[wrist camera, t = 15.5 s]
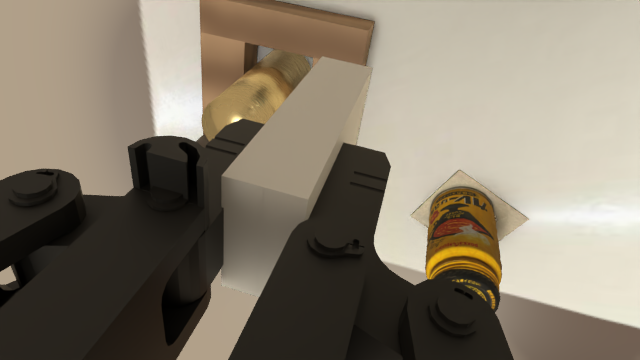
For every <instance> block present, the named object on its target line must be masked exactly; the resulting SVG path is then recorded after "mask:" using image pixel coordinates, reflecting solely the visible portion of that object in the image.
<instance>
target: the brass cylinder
mask: <svg viewBox="0 0 640 360" xmlns="http://www.w3.org/2000/svg"><path fill="white" fill-rule="evenodd" d="M310 70H311V69H310V66H309V63H308V61H307V60H306V58H305V57H304V56H303V55H299V54H295V53H291V52H286V51H282V50H277V49H275V50H273V51H272V52H270V53H269V54H268V55H267V56H266V57H264V58H263V59H262V60H261V61H260V62H258V63H257V64H256V65H255V66H254V67H252V68H251V69H250V70H249V71H248V72H246V73H245V74H244V75H243V76H242V77H240V78H239V79H238V80H237V81H236V82H234V83H233V84H232V85H231V86H230V87H228V88H227V89H226V90H225V91H224V92H222V93H221V94H220V95H219V96H218V97H216V98H215V99H214V100H213V101H212V102H210V103H209V104H208V105H207V106H206V108H205V109H204V111H203V114H202V127H203V131H204V134H205V136H206V137H207V139H208V141H209V142H210V141H211V140H212V139H214V138H215V136H216V135H217V134H218V133H219V132H220V131H221V130H222V129H223V128H224V127H225V126H226V125H228V124H231V123H233V122H236V121H238V120H240V119H247V120H251V121H255V122H259V123H263V124H266V122H267V121H268V120H269V119H270V118H271V116H272V115H273V114H274V113H275V112H276V110H277V109H278V108H279V107H280V106H281V105H282V103H283V102H284V101H285V100H286V99H287V97H288V96H289V95H290V94H291V93H292V92H293V90H294V89H295V88H296V87H297V86H298V84H299V83H300V82H301V81H302V80H303V78H304V77H305V76H306V75H307V74H308V73H309V71H310Z"/></svg>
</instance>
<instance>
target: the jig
mask: <svg viewBox="0 0 640 360" xmlns="http://www.w3.org/2000/svg"><path fill="white" fill-rule="evenodd" d="M374 23H375V21H370V20H365V19H360V18H355V17H351V16H346V15H341V14H336V13H332V12H327V11H322V10H317V9H313V8H308V7H303V6H298V5H294V4H289V3H284V2H279V1H275V0H200V29H201V65H202V101H203V111H204V109H205V108H206V106H207V105H208V104H209V103H210V102H212V101H213V100H214V99H215V98H216V97H218V96H219V95H220V94H221V93H222V92H224V91H225V90H226V89H227V88H228V87H230V86H231V85H232V84H233V83H234V82H236V81H237V80H238V79H239V78H240V77H242V76H243V75H244V74H245V73H246V72H248V71H249V70H250V69H251V68H252V67H254V66H255V65H256V64H257V47H258V45H260V46H264V47H269V48H273V49H277V50H282V51H286V52H291V53H295V54H299V55H304V56H308V57H313V66H312V68H313V67H314V65H315V64H316V63H317V62H318V61H319V60H320V58H321V57H322V56H323V57H327V58H331V59H336V60H340V61H345V62H349V63H354V64H358V65H362V66H366V62H367V57H368V52H369V47H370V42H371V37H372V32H373V28H374ZM196 142H197V143H199V144H200V145H201V146H202V147H204V148H205V147H206V144H208V143H209V141H208V139H207V137H206V136H205V134H204V131H203V136H202V137H200V138H199V139H198V140H197V141H196Z"/></svg>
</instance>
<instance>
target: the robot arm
mask: <svg viewBox="0 0 640 360" xmlns="http://www.w3.org/2000/svg"><path fill="white" fill-rule="evenodd" d="M371 73H372V68H371V67H367V66H362V65H358V64H354V63H349V62H345V61H340V60H336V59H331V58H327V57H323V56H322V57H321V58H320V60H319V61H318V62H317V63H316V64H315V65H314V67H313V68H312V69H311V70H310V71H309V73H308V74H307V75H306V76H305V77H304V78H303V80H302V81H301V82H300V83H299V84H298V86H297V87H296V88H295V89H294V90H293V92H292V93H291V94H290V95H289V96H288V97H287V99H286V100H285V101H284V102H283V103H282V105H281V106H280V107H279V108H278V109H277V110H276V112H275V113H274V114H273V115H272V116H271V118H270V119H269V120H268V121H267V122H266V124H263V123H259V122H255V121H251V120H247V119H240V120H238V121H236V122H233V123H231V124H228V125H226V126H225V127H224V128H223V129H222V130H221V131H220V132H219V133H218V134H217V135H216V136H215V138H214V139H212V140H211V141H210V142H209V143H208V144H206V147H205V148H204V147H202V146H201V145H200V144H199V143H197V142H195V141H192V140H190V139H188V138H183V137H176V136H155V137H151V138H147V139H143V140H140V141H137V142H136V143H134V144H132V145H130V146H128V152H129V159H130V166H131V172H132V179H133V186H134V188H133V189H132V190H131V191H129V192H128V193H127V194H126V195H125V196H99V195H83V194H82V190H81V186H80V182H79V180H78V179H77V178H76V177H75V176H74V175H73V174H71V173H68V172H65V171H62V170H59V169H37V170H31V171H25V172H22V173H19V174H16V175H13V176H9V177H7V178H5V179H3V180H0V272H1V271H2V270H4V269H6V268H7V267H9V266H11V268H12V270H13V273H14V275H15V277H16V281H13V282H11V283H9V284H6V285H0V360H176V359H177V357H178V356H179V354H180V352H181V351H182V349H183V347H184V346H185V344H186V342H187V341H188V339H189V337H190V336H191V334H192V332H193V331H194V329H195V327H196V326H197V324H198V323H199V321H200V319H201V317H202V316H203V314H204V313H205V311H206V309H207V307H208V305H209V302H210V298H211V283H212V282H213V280H214V278H215V277H216V275H217V274H218V272H219V271H220V269H221V270H222V271H221V275H222V276H221V282H222V283H221V285H222V286H225V287H228V288H231V289H234V290H238V291H241V292H244V293H247V294H250V295H253V296H257V297H259V299H258V301H257V303H256V305H255V307H254V309H253V311H252V313H251V315H250V317H249V319H248V321H247V323H246V325H245V327H244V329H243V331H242V333H241V335H240V337H239V339H238V341H237V343H236V345H235V347H234V349H233V351H232V353H231V355H230V357H229V359H228V360H514V359H513V356H512V354H511V351H510V348H509V346H508V343H507V341H506V338H505V335H504V333H503V330H502V327H501V325H500V322H499V319H498V318H497V316H496V314H495V312H494V311H493V309H492V307H491V306H490V304H489V303H488V302H487V301H485V300H484V299H483V298H482V297H481V296H480V295H479V294H478V293H477V292H476V291H474V290H472V289H470V288H468V287H466V286H465V285H463V284H461V283H458V282H454V281H450V280H447V279H427V280H426V281H423V282H421V283H419V284H417V285H413V284H411V283H410V282H408V281H406V280H404V279H403V278H401V277H399V276H398V275H396V274H395V273H394V272H392V271H391V270H389V269H388V267H387V266H386V265H385V264H384V263H383V262H382V261H381V260H380V258H379V256H378V255H377V253H376V250H375V247H374V234H375V230H376V226H377V222H378V218H379V213H380V209H381V205H382V201H383V197H384V193H385V189H386V185H387V180H388V176H389V172H390V168H391V166H390V163H389V161H388V159H387V157H386V154H385V153H384V152H380V151H376V150H372V149H368V148H364V147H360V146H356V143H357V139H358V134H359V129H360V124H361V120H362V115H363V110H364V106H365V101H366V96H367V92H368V87H369V82H370V78H371Z"/></svg>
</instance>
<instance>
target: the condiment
mask: <svg viewBox="0 0 640 360" xmlns="http://www.w3.org/2000/svg"><path fill="white" fill-rule="evenodd" d="M495 216H496V218H495ZM411 217H413V218H414V219H416V220H417V221H419V222H420V223H422V224H423V225H425V226H426V227H427V228H428V239H427V241H428V244H427V251H426V267H425V269H426V275H427V278H428V279H447V280H450V281H454V282H458V283H461V284H463V285H465V286H466V287H468V288H470V289H472V290H474V291H476V292H477V293H478V294H479V295H480V296H481V297H482V298H483V299H484V300H485V301H487V302H488V303H489V304H490V306H491V307H492V309H493V311H494V312H496V310H497V309H498V305H499V302H500V295H499V294H500V293H499V284H500V282H501V278H502V273H501V270H502V265H501V262H500V251H499V243H498V241H500V240H501V239H502V238H504V236H506V235H508V234H509V233H511V232H512V231H514V230H515V229H516V228H517V227H519V226H521V225H522V224H523V223H525V222H526V221H527V220H529V219H528V218H526V217H525V216H523V215H522V214H521V213H519V212H518V211H517V210H515V209H513V208H512V207H511V206H509V205H508V204H507V203H505V202H503V201H502V200H501V199H500V198H498V197H497V196H496V195H494V194H493V193H492V192H490V191H489V190H487V189H486V188H485V187H483V186H482V185H481V184H479V183H478V182H476V181H475V180H474V179H472V178H470V177H469V176H468V175H466V174H465V173H463V172H462V171H460V170H459V171H458V172H457V173H456V174H455V175H454V176H452V177H451V178H450V179H449V180H448V181H447V182H446V183H445V184H443V185H442V186H441V187H440V188H439V189H438V190H437V191H436V192H435V193H434V194H433V195H432V196H431V197H430V198H429V199H427V200H426V201H425V202H424V203H423V204H422V205H421V206H420V208H418V209H417V210H416V211H415V212H414V213H413V214H412V215H411ZM495 219H496V220H497V221H495Z"/></svg>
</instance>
